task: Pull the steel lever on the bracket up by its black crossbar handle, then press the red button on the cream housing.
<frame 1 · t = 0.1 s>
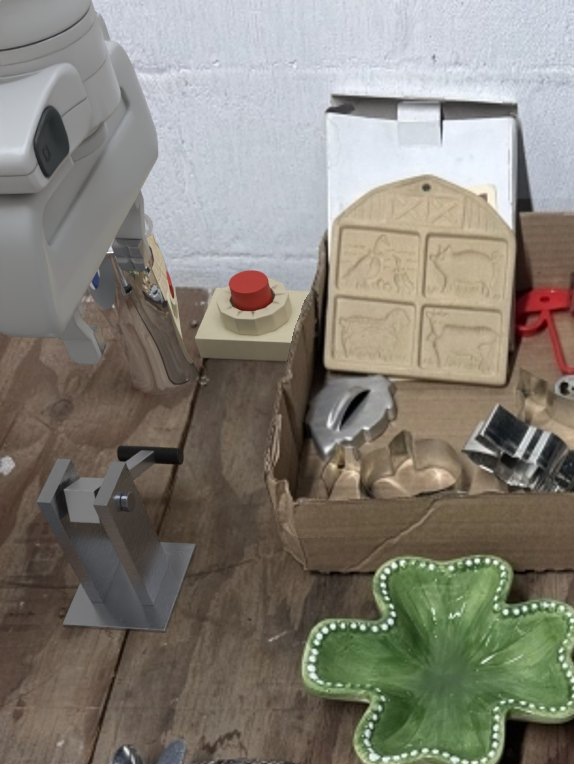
hand: (114, 309, 67), 24 cm above the table, tool pointing down, fingers open, 8 cm apart
bracket: (135, 592, 85), on the table
button: (250, 291, 100), point 5 cm above the table, slide at 0.1 cm
lever: (120, 477, 81), point 8 cm above the table, hinge at -25.0°
button box: (261, 334, 103), on the table
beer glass: (167, 383, 100), on the table
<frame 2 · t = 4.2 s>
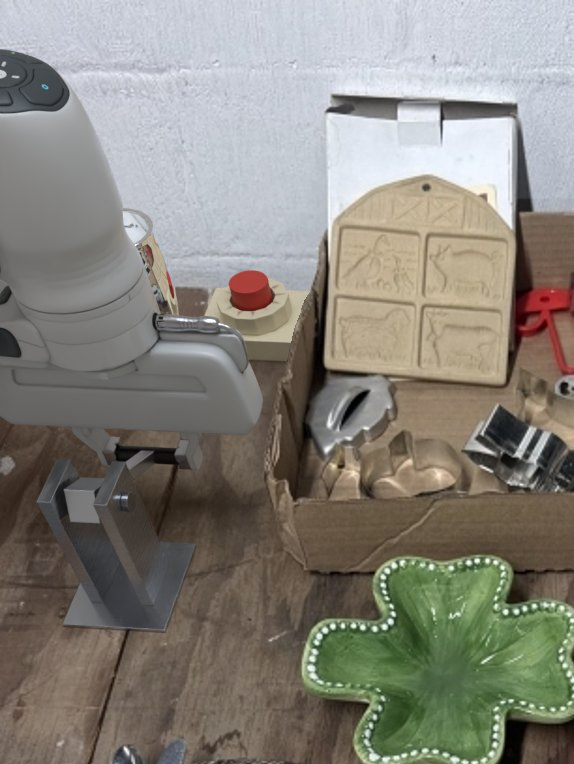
hand: (153, 462, 87), 5 cm above the table, tool pointing down, fingers closed on lever, 5 cm apart
lever: (120, 477, 81), point 8 cm above the table, hinge at -25.1°, touching gripper
everything else where it was.
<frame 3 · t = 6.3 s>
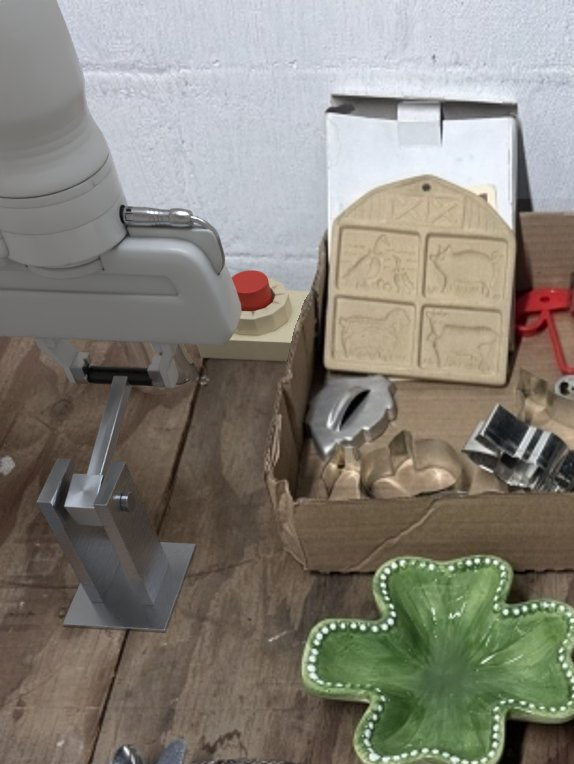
hand: (124, 381, 81), 12 cm above the table, tool pointing down, fingers closed on lever, 5 cm apart
lever: (106, 440, 78), point 11 cm above the table, hinge at 12.8°, touching gripper
everything else where it was.
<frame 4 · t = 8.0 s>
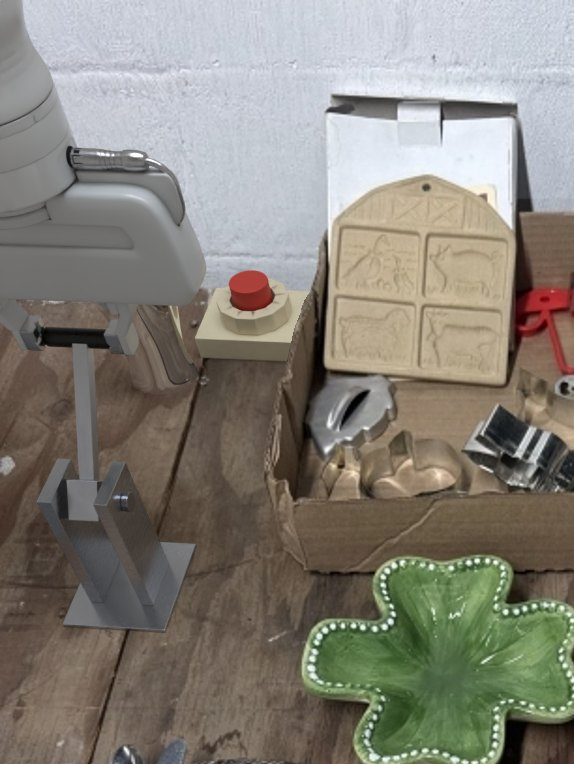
hand: (81, 347, 74), 18 cm above the table, tool pointing down, fingers closed on lever, 5 cm apart
lever: (86, 425, 75), point 14 cm above the table, hinge at 47.8°, touching gripper
everything else where it was.
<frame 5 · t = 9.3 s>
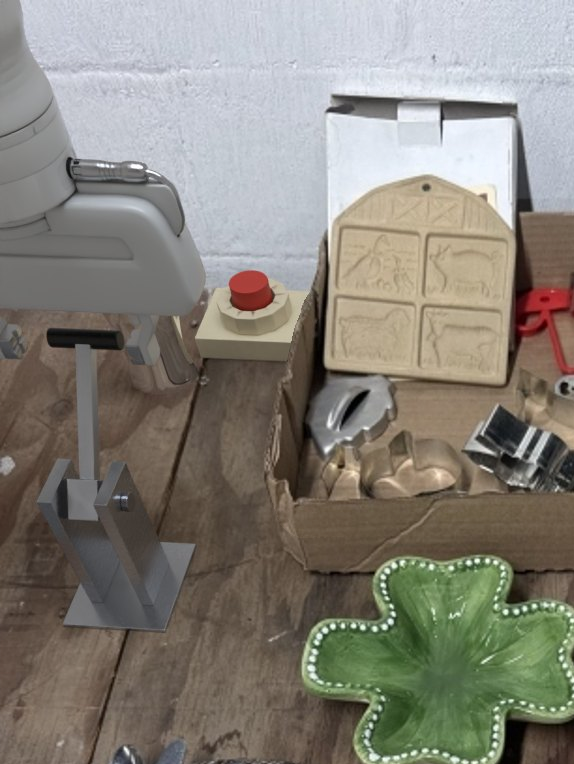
hand: (81, 357, 74), 17 cm above the table, tool pointing down, fingers open, 8 cm apart
lever: (88, 426, 75), point 14 cm above the table, hinge at 45.4°
everything else where it was.
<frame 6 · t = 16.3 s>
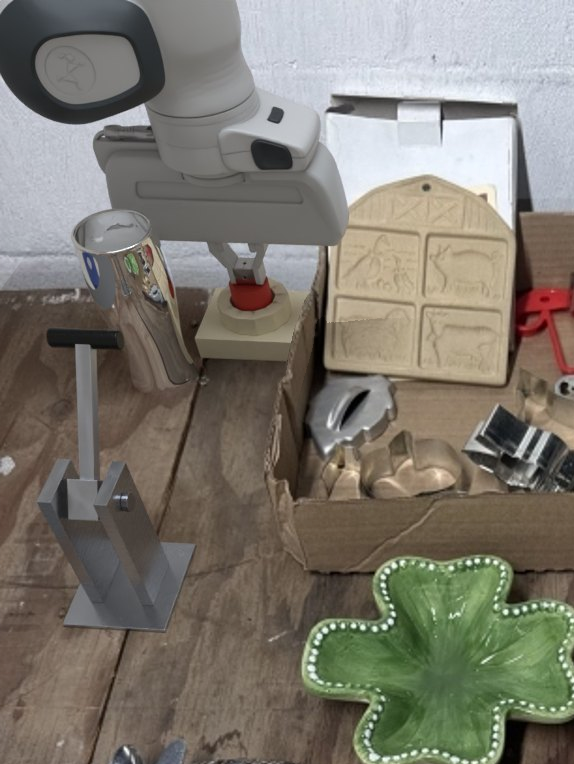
hand: (249, 280, 99), 6 cm above the table, tool pointing down, fingers closed, pressing on button
button: (250, 291, 100), point 5 cm above the table, slide at 0.1 cm, touching gripper
everything else where it was.
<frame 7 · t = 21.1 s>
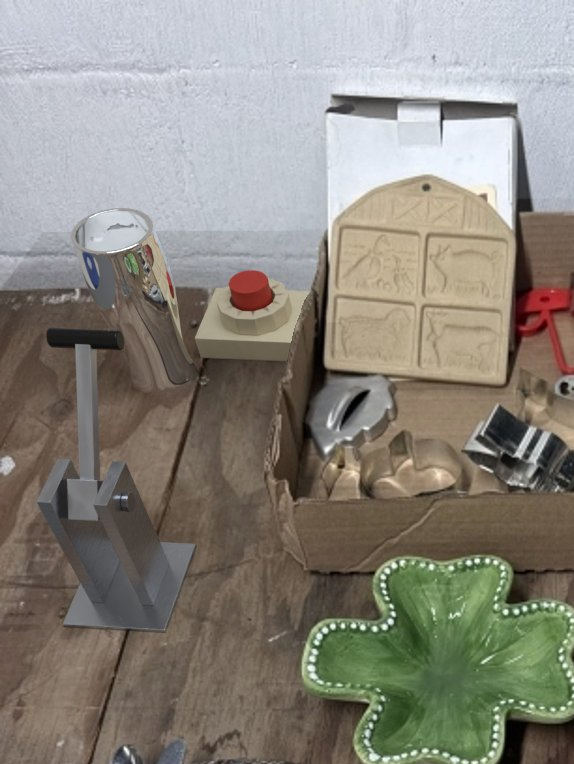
button: (250, 291, 100), point 5 cm above the table, slide at 0.1 cm
everything else where it was.
at the end: lever at +45° (first picture: -25°); button pushed in 1.0 cm at the most during the clip, back to where it started at the end; button slide at 0.1 cm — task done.
